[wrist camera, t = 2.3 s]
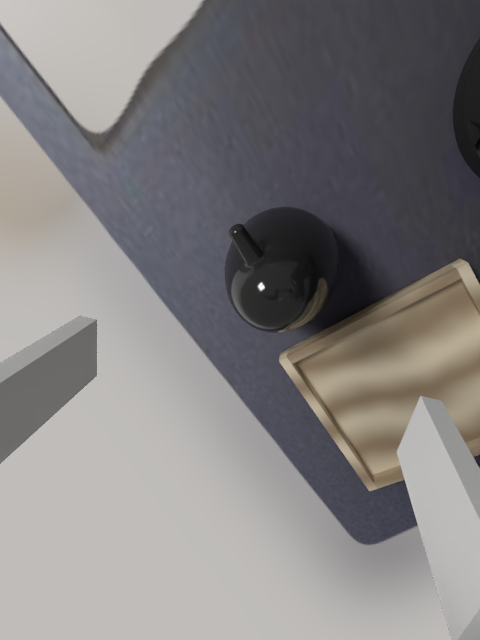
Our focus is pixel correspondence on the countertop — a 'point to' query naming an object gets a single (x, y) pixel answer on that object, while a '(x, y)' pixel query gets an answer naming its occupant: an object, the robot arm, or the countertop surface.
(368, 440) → the birch tray
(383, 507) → the countertop surface
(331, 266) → the pump dispenser
